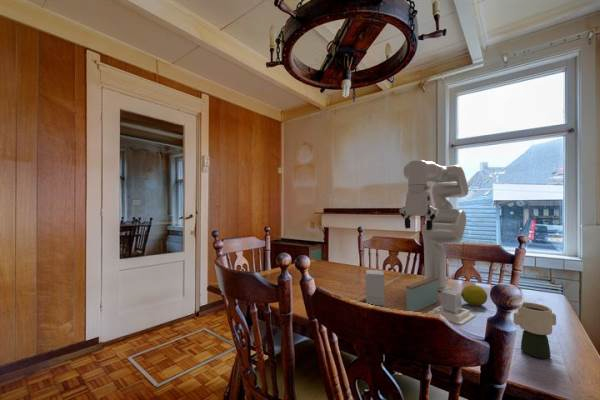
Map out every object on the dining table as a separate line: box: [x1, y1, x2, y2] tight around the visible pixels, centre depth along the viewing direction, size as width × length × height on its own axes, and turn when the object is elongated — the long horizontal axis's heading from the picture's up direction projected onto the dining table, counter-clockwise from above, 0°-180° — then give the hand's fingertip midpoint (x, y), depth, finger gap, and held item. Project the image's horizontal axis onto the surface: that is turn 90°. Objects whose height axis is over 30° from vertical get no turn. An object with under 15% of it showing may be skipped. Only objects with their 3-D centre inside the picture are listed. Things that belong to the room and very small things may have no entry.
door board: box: [405, 277, 439, 313], centre depth 110 cm, size 20×2×10 cm, turn 127°
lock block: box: [440, 289, 462, 315], centre depth 101 cm, size 5×5×8 cm
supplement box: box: [365, 269, 386, 306], centre depth 115 cm, size 7×7×13 cm
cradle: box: [427, 305, 477, 326], centre depth 101 cm, size 12×12×2 cm
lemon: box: [461, 284, 488, 307], centre depth 111 cm, size 11×8×8 cm
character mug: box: [513, 301, 557, 359], centre depth 75 cm, size 11×7×13 cm, turn 87°
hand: (418, 229), depth 118 cm, fingers open, 9 cm apart
